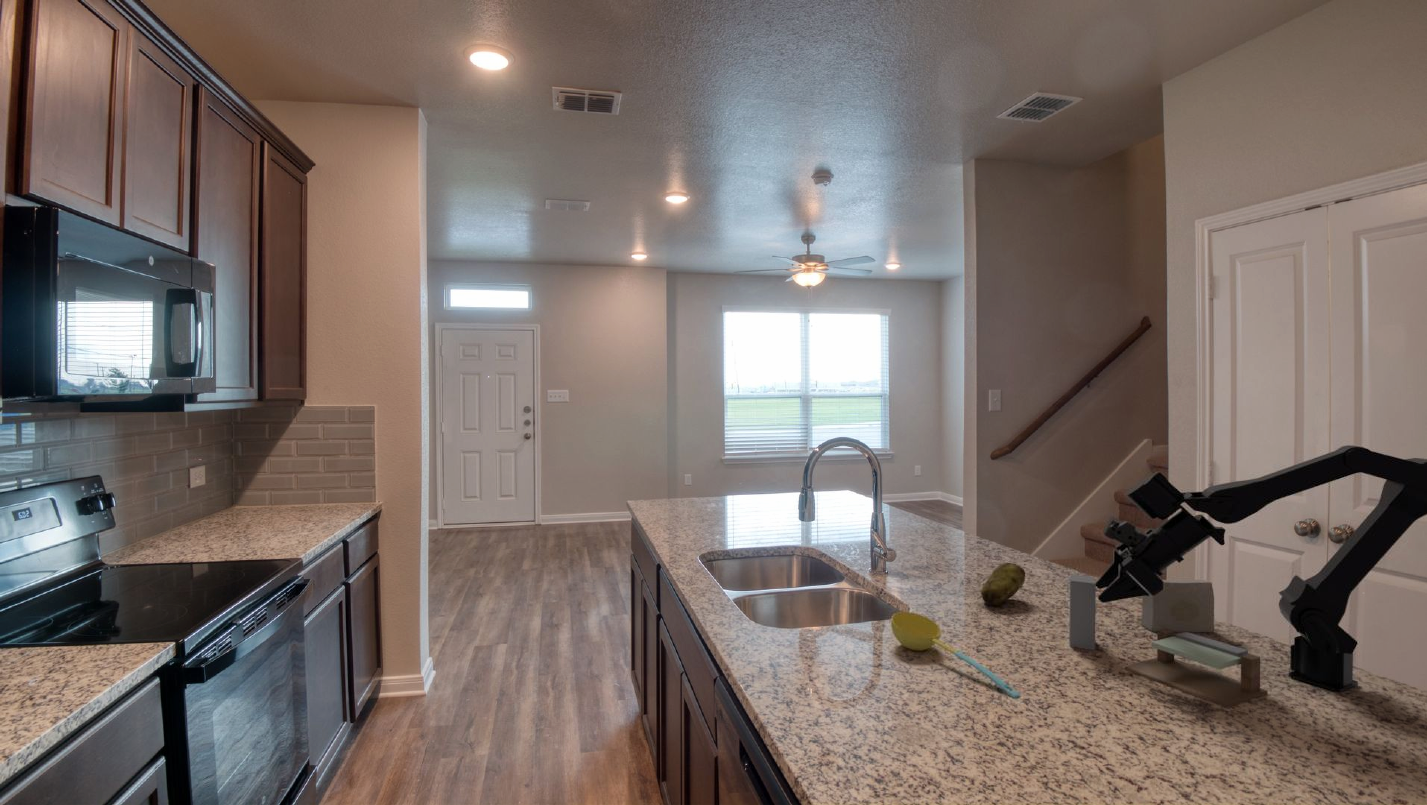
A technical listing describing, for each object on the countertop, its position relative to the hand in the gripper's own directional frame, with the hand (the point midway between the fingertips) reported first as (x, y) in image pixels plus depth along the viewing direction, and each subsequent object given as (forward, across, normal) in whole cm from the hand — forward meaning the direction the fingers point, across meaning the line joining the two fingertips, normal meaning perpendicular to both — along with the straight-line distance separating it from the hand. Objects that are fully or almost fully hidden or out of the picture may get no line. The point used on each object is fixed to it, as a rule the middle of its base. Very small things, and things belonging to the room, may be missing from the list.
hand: (1098, 593), depth 119 cm
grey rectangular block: (+9, 0, +5) cm, 10 cm away
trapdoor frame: (-2, +9, +16) cm, 19 cm away
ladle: (+23, +21, -8) cm, 33 cm away
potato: (+19, -20, -5) cm, 28 cm away
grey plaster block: (-3, -17, +17) cm, 25 cm away
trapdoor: (-6, +8, +14) cm, 17 cm away
